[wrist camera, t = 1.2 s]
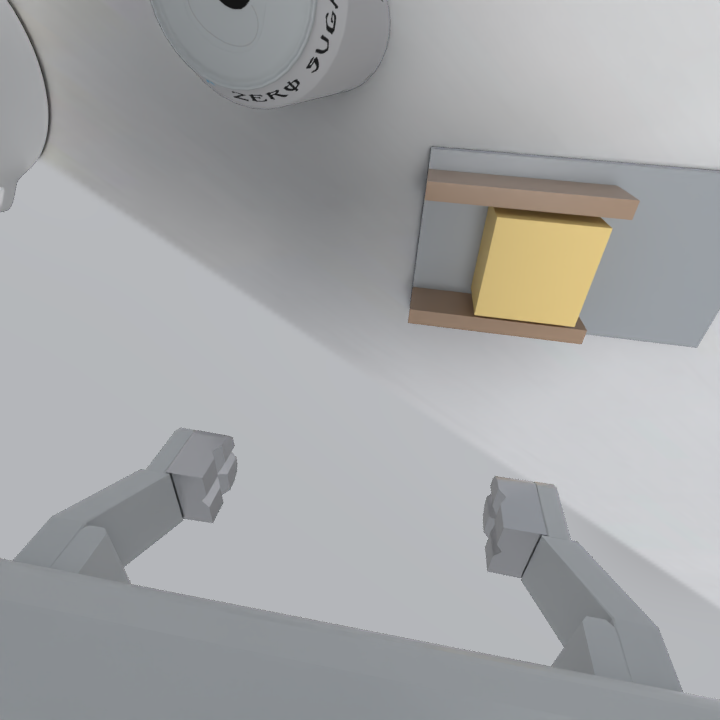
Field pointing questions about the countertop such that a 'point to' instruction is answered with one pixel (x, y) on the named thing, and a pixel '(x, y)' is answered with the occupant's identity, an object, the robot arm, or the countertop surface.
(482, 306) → the ochre block
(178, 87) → the countertop surface
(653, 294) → the chute
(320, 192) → the countertop surface
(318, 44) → the energy drink can
